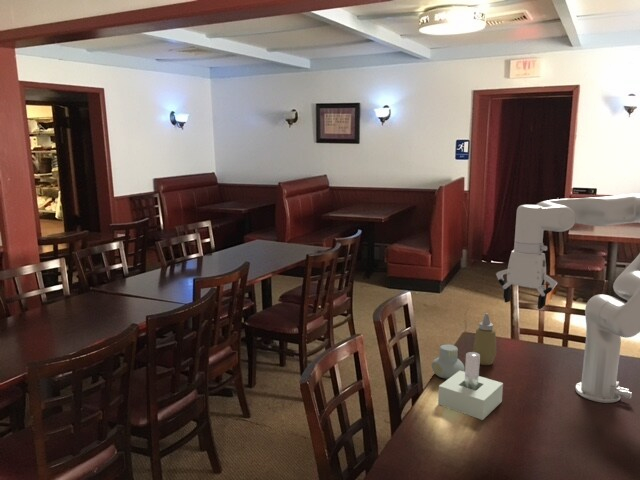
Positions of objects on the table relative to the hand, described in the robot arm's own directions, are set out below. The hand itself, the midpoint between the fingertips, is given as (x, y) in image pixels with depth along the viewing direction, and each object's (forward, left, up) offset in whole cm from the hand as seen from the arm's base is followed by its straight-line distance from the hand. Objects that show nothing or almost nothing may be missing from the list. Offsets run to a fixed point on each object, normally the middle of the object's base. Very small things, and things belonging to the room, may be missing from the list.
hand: (523, 304), depth 159 cm
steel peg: (+10, +11, -29) cm, 32 cm away
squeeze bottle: (+19, -20, -31) cm, 41 cm away
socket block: (+10, +11, -30) cm, 34 cm away
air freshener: (+24, -2, -31) cm, 39 cm away
